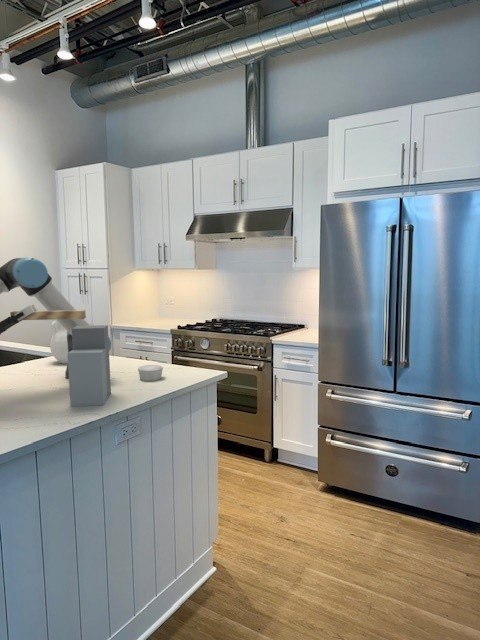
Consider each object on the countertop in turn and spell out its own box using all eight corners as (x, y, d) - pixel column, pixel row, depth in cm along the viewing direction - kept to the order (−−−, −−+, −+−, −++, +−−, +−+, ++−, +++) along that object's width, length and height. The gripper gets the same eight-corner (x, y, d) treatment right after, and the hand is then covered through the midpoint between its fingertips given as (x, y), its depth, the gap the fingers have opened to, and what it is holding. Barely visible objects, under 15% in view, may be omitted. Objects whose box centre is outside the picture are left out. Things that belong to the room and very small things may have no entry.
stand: (70, 406, 171) (66, 331, 168) (80, 394, 187) (76, 325, 184) (103, 405, 172) (99, 330, 169) (111, 393, 188) (107, 325, 185)
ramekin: (157, 382, 205) (157, 370, 204) (134, 381, 207) (133, 369, 206) (166, 376, 216) (166, 365, 215) (144, 375, 218) (143, 364, 217)
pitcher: (79, 357, 263) (76, 313, 260) (93, 361, 249) (91, 316, 246) (45, 362, 250) (42, 316, 247) (59, 367, 237) (56, 319, 234)
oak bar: (10, 320, 169) (10, 312, 168) (14, 319, 172) (13, 311, 171) (83, 318, 171) (83, 310, 171) (85, 318, 174) (85, 310, 174)
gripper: (-39, 335, 161) (19, 301, 162) (-18, 329, 177) (35, 297, 178) (-26, 353, 162) (31, 319, 163) (-6, 345, 178) (46, 314, 179)
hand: (33, 308), depth 170 cm, fingers closed on oak bar, 3 cm apart
